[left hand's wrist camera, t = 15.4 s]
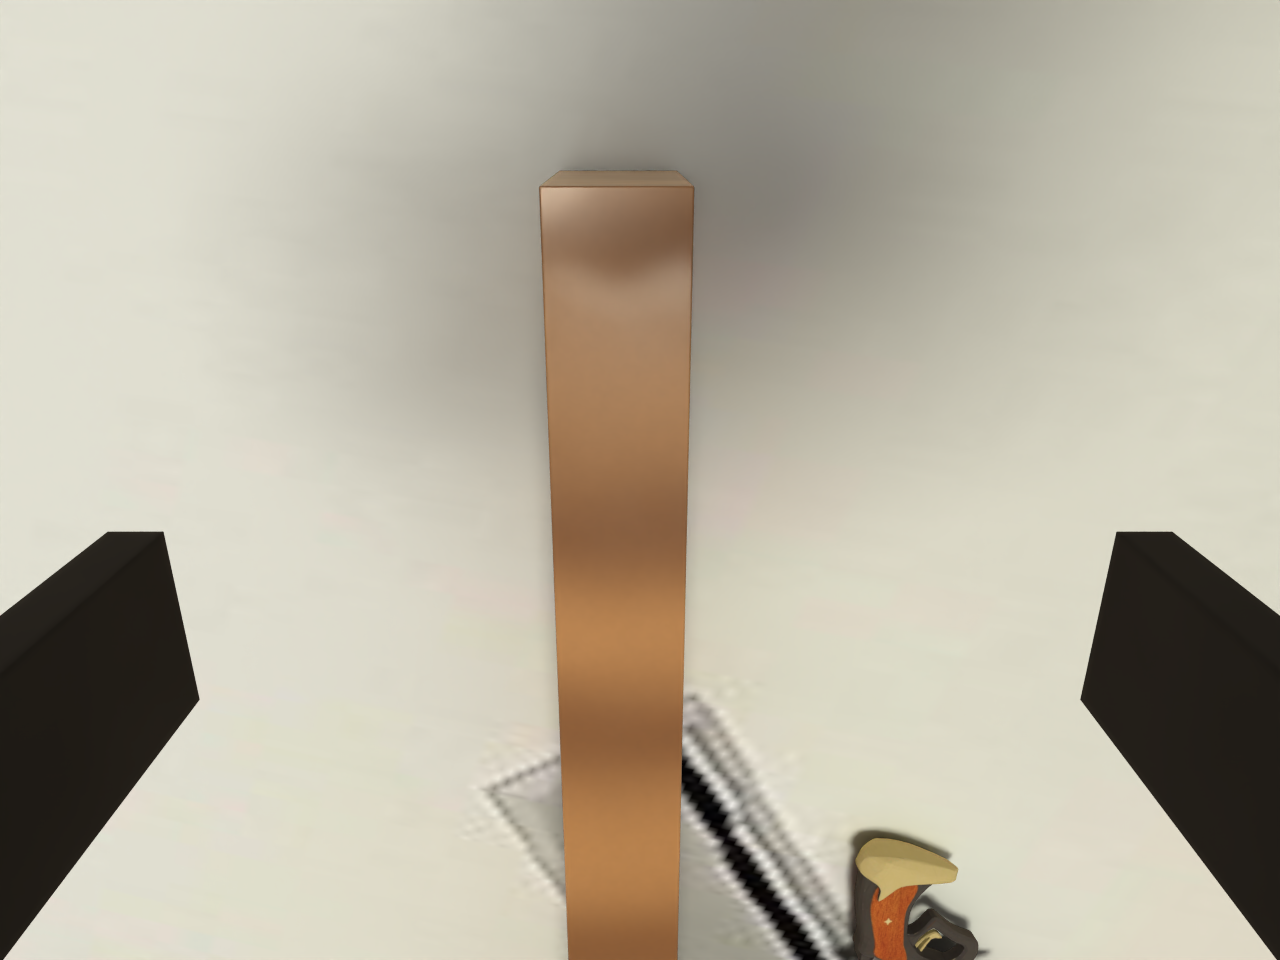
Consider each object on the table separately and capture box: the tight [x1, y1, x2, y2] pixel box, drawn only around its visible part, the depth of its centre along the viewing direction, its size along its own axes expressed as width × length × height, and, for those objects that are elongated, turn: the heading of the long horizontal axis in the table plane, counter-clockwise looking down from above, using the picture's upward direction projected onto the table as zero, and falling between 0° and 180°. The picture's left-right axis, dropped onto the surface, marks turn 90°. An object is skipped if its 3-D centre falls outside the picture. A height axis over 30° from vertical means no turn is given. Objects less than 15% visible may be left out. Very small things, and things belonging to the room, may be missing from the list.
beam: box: [539, 171, 694, 960], centre depth 41 cm, size 60×4×9 cm, turn 0°
